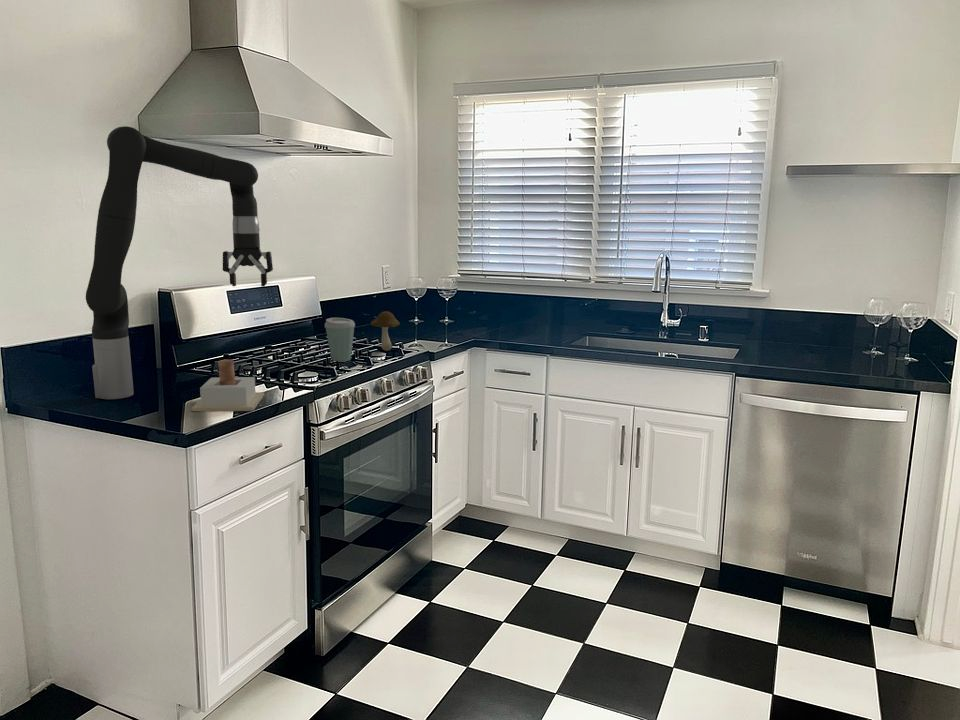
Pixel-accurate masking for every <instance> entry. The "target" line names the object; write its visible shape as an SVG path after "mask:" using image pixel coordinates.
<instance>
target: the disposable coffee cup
mask: <svg viewBox="0 0 960 720" xmlns="http://www.w3.org/2000/svg"><path fill="white" fill-rule="evenodd" d="M355 327H356V323H355V321H354V320H353V319H349V318H344V317H330V318H326V319H325V323H324V328H325V331H326V337H327V343H328V348H329V351H330V352H329V353H330V358H331V361H332V360H333V361H338V362H346V361H349V360H350V361H351V360H352V359H351V358H352V351H353V342H354V333H355ZM333 361H332V362H333ZM350 361H349V362H350ZM346 363H347V362H346Z"/></svg>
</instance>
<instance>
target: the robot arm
mask: <svg viewBox="0 0 960 720" xmlns="http://www.w3.org/2000/svg"><path fill="white" fill-rule="evenodd" d="M106 138H107V139H106V145H107V149H108V152H109V155H108V157H109V162H108V174H107V180H106V183H105V186H104V189H103V192H102V195H101V198H100V203H99V205H98V206H99V207H98V212H97V220H96V227H95V239H94V251H93V252H94V253H93V263H92V268H91V273H90V277H89V281H88V283H87V284H88V285H87V288H86V291H85V302H86V305H87V307H88V308H89V310H91V311H92V314H93V315H92V316H93V319H92V320H93V322H92V326H91V337H92V338H91V339H92V347H93V357H94V364H92V367H91V368H92V377H93V386H94V395H95V397H94V398H95V399H103V400H119V399H124V398H129V397H132V396H133V395H134V393H135V392H134V381H133V380H134V379H133V372H132V360H131V347H130V338H129V326H130V315H129V301H128V294H127V290H126V288H125V286H124V285H123V284H122V275H123V274H122V273H123V267H124V264H125V260H126V257H127V256H128V252H129V250H130V247H131V243H132V240H133V236H134V232H135V225H136V216H137V205H138V183H139V177H140V173H141V169H142V164H143V163H150V164H156V165H160V166H164V167H167V168H171V169H174V170H178V171H181V172H184V173H188V174H190V175H194V176H197V177H201V178H205V179H210V180H215V181H216V180H217V181H222V182H227V183H229V189H230V195H231V200H232V202H231V203H232V240H233V241H232V242H233V250H232V251H228V250H225V251H223V252H222V271H223V272H226V273H228V275H229V284H230V285H232V287H237V275H236V274H237V273H236V271H237V270H238V268H239V267H240V266H241V267H255V268H257V269H258V271H259V272H260V273H261V274H260V283H261V284H260V285H261V287H262V288H263V287H265V286H266V285H267V283H268V277H267V276H268V275H267V274H268V273H270V272H273V269H274V267H273V258H272V251H261V242H260V239H261V238H260V230H261V229H260V222H259V215H258V202H257V198H256V197H255V195H254V194H255V193H254V185H256V183H257V181H258V180H259V173H258V170H257V168H256V167H255V166H254V164H251V163H250V162H247V161H245V160H244V161H243V160H240V159H234V158H228V157H223V156H219V155H217V154H214V153H210V152H206V151H203V150H200V149H195V148H191V147H186V146H185V147H184V146H180V145H174V144H170V143H166V142H163V141H159V140H157V139H153V138H151V137H149V136H146V135H144V134H142V133H141V132H140V131H139V130H138V129H136V128H135V127H132V126H126V125H125V126H118V127H115V128H114V129H113V130H111V132H109V134H108V136H107V137H106ZM232 257H233V259H234V260H235V262H234V263H233V264H232V266H231V267H230V262H229V261H230V259H231V258H232ZM262 257H263V258H264V260H266V267H264V265H263V263H262V262H261V261H260V259H261V258H262Z"/></svg>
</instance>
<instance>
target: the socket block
mask: <svg viewBox="0 0 960 720" xmlns="http://www.w3.org/2000/svg"><path fill="white" fill-rule="evenodd" d="M199 392H200V399H199V400H198V401H197V402H196V403H195V404H194V405H193V406H192V407H191V412H192V411H207V412H253V411H254V410H255V409H256V407H257V406H258V405H259V404H260V402H261V401H262V399H264V397H265V392H264V391H262V392H261V391H257V392H256V377H254V376H248V377H247V376H246V377H245V376H244V377H243V376H241V377H236V376H235V385H220V377H210V378H209V379H208V380H207V381H206V382H204V383H203V385H202V386H201V387H199ZM263 396H264V397H263Z"/></svg>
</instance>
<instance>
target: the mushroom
mask: <svg viewBox="0 0 960 720" xmlns="http://www.w3.org/2000/svg"><path fill="white" fill-rule="evenodd" d="M400 323H401V322H400V321H399V320H397V318H396V317H395V316H394V314H393V313H392V312H390V311H387V310H386V311H382V312H380V313H379V315H378V316H377V317H376V318H374V319H373V320H371V321H370V325H371V326H373V327H376V328H377V327H378V328H381V348H382V350H383V351H385V352H388V351H389V352H390V351H391V350H392V342H391V339H390V337H389V332H388V331H389V330H388V329H389V328H395V327H398V326H400Z"/></svg>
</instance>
